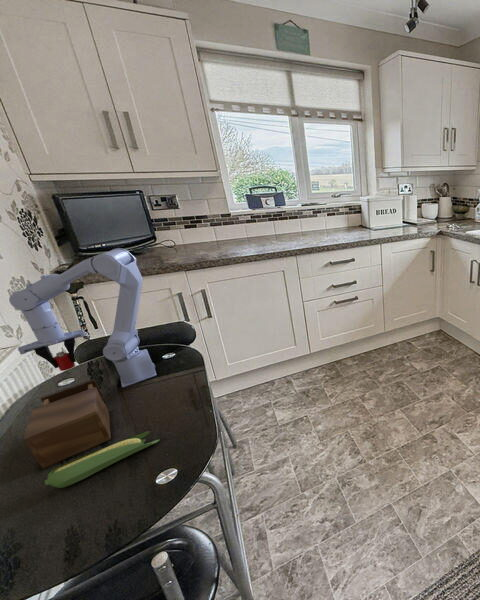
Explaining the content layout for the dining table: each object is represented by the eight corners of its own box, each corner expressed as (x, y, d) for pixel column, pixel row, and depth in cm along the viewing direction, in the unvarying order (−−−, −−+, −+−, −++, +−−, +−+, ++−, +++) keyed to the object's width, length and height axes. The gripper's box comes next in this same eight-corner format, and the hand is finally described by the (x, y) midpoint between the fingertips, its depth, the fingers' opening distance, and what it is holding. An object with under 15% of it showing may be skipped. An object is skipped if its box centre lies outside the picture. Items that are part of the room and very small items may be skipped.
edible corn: (53, 483, 72) (43, 468, 71) (160, 435, 84) (153, 421, 82) (50, 499, 69) (40, 483, 67) (162, 446, 80) (155, 432, 79)
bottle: (75, 363, 107) (67, 348, 105) (75, 367, 104) (67, 352, 102) (60, 368, 105) (51, 353, 103) (60, 372, 102) (51, 357, 100)
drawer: (54, 410, 96) (42, 389, 94) (104, 391, 103) (94, 372, 101) (48, 443, 83) (34, 420, 81) (105, 420, 90) (94, 398, 88)
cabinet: (48, 436, 87) (32, 409, 84) (109, 412, 95) (95, 386, 91) (42, 469, 77) (23, 439, 73) (110, 439, 84) (96, 411, 81)
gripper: (8, 338, 92) (32, 379, 97) (77, 320, 101) (96, 358, 106) (11, 332, 96) (33, 370, 101) (76, 315, 106) (94, 351, 111)
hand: (65, 364), depth 104 cm, fingers closed on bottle, 3 cm apart
